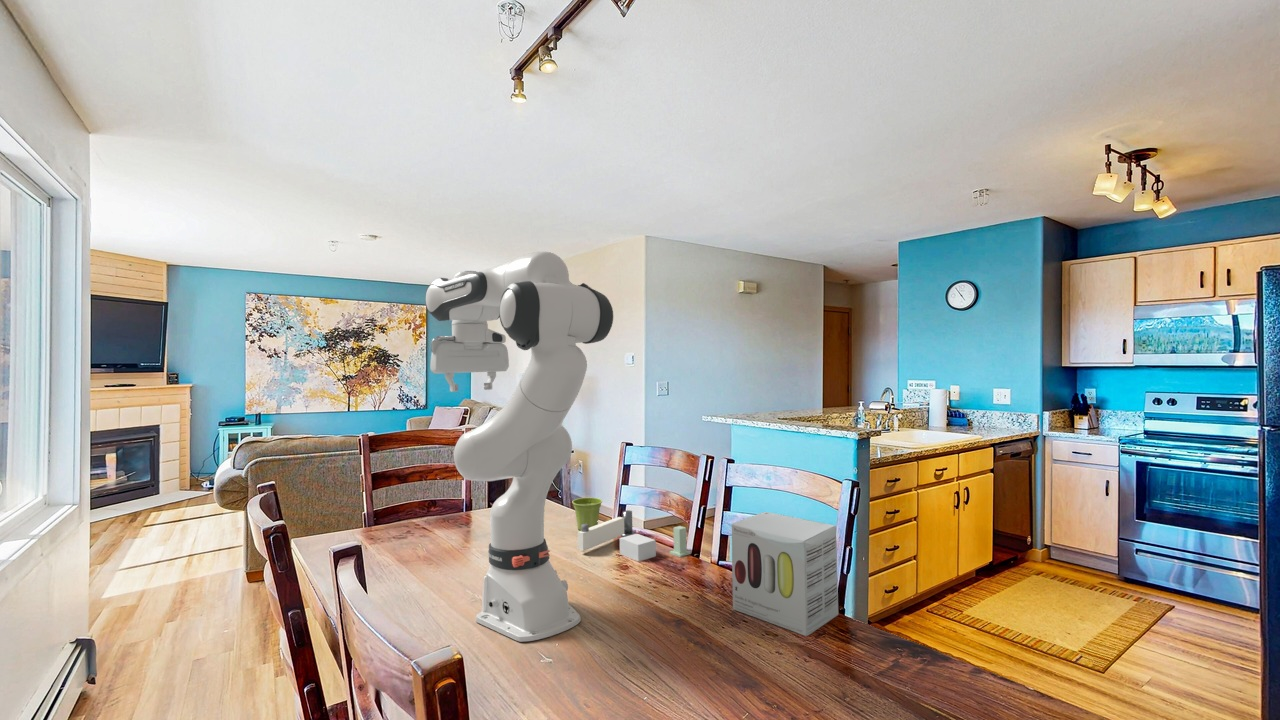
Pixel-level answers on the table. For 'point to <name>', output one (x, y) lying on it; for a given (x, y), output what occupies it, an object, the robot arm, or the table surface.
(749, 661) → the table surface
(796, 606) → the supplement box
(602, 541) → the gate
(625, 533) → the hinge post
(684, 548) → the post
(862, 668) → the table surface
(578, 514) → the plant pot
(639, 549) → the light grey block
